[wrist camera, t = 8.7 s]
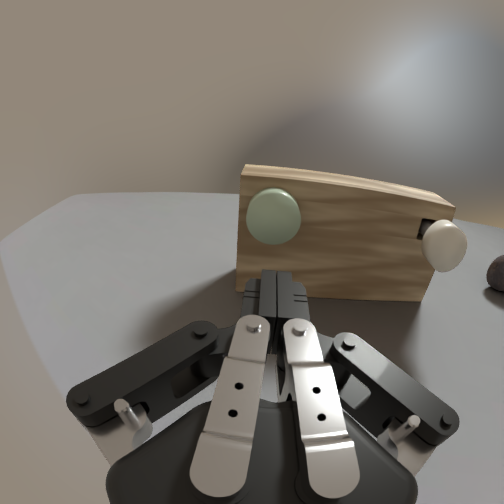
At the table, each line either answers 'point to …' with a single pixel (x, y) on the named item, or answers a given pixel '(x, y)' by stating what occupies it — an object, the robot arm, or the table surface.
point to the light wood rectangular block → (343, 235)
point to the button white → (442, 244)
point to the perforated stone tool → (496, 274)
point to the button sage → (273, 216)
